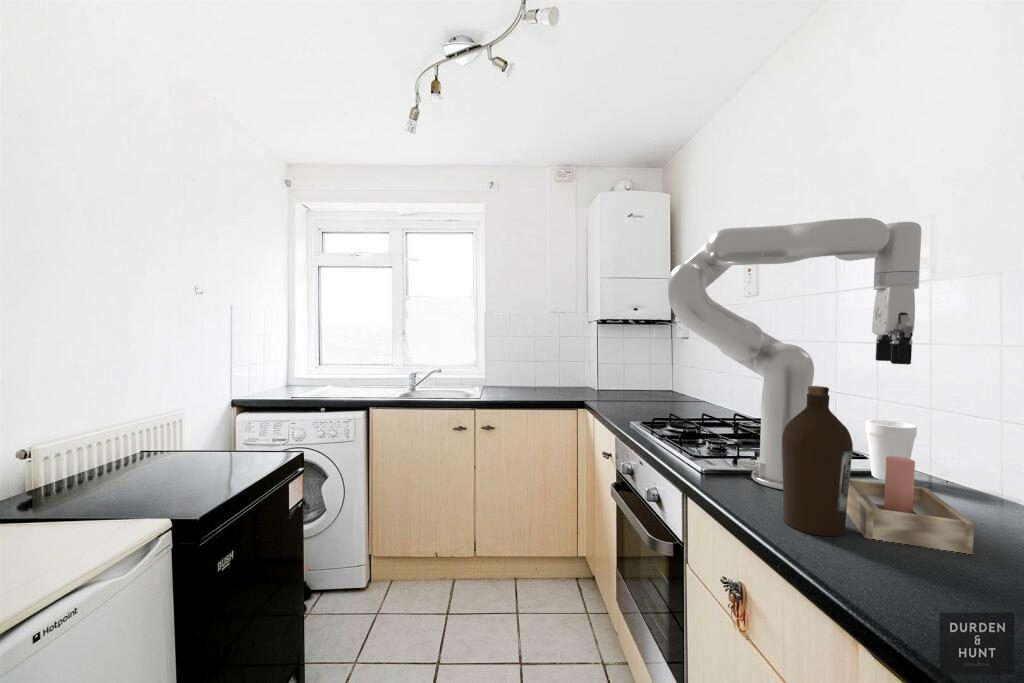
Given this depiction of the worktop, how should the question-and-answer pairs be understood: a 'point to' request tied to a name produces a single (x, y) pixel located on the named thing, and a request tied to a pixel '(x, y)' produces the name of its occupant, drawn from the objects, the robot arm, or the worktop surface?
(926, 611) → the worktop surface
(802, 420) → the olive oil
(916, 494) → the box
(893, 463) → the peg
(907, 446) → the foam cup
